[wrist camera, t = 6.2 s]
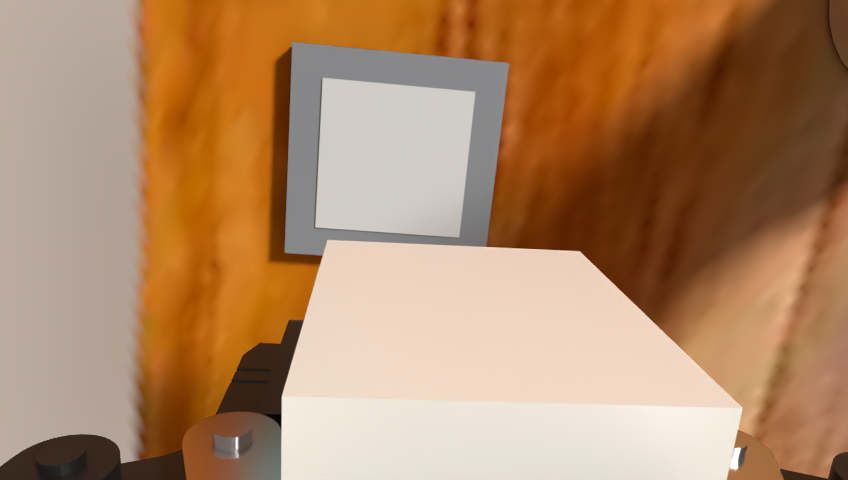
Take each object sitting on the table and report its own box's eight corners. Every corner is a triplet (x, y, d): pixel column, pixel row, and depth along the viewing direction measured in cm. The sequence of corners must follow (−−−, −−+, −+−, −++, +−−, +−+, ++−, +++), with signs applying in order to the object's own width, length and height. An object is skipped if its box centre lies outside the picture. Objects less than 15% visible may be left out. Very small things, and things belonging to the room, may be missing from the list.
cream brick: (579, 251, 13) (743, 408, 7) (549, 467, 14) (666, 748, 8) (327, 240, 12) (282, 396, 7) (321, 464, 14) (279, 756, 8)
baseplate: (503, 62, 28) (509, 63, 27) (479, 258, 30) (484, 267, 29) (295, 42, 27) (292, 41, 26) (288, 245, 30) (284, 253, 28)
